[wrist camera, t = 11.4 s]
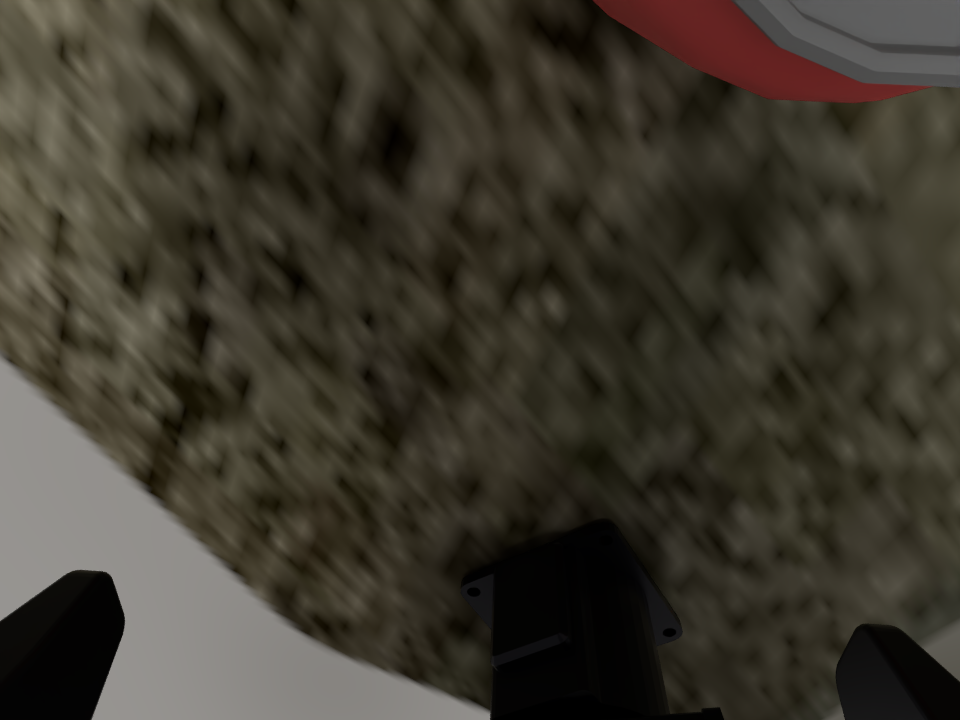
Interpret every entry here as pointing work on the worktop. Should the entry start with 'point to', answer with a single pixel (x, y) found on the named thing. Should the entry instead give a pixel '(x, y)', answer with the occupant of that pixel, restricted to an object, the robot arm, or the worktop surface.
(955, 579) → the worktop surface
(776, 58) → the beer can
